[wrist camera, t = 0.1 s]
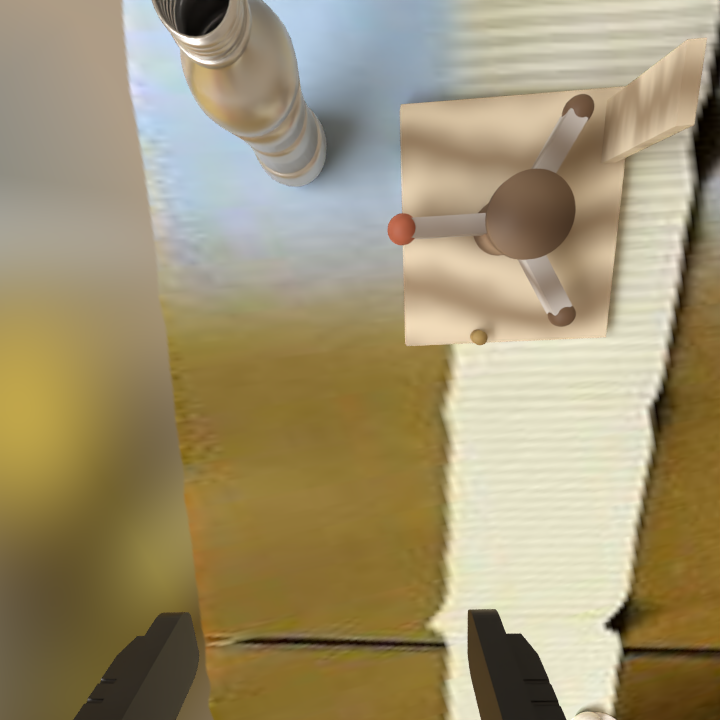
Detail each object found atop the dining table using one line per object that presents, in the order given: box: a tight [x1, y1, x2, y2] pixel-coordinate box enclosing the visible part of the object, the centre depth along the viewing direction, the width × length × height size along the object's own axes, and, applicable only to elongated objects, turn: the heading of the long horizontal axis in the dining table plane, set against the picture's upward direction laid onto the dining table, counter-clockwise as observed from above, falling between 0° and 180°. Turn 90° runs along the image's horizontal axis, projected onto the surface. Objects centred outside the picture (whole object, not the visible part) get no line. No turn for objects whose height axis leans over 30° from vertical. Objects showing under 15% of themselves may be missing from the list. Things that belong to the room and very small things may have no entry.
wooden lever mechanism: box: [400, 38, 707, 346], centre depth 30 cm, size 22×20×10 cm
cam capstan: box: [388, 94, 594, 327], centre depth 29 cm, size 18×16×7 cm
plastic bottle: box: [152, 0, 327, 187], centre depth 24 cm, size 6×7×20 cm
